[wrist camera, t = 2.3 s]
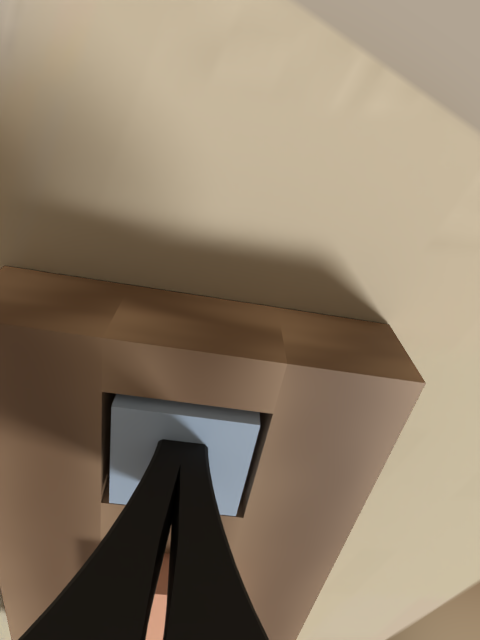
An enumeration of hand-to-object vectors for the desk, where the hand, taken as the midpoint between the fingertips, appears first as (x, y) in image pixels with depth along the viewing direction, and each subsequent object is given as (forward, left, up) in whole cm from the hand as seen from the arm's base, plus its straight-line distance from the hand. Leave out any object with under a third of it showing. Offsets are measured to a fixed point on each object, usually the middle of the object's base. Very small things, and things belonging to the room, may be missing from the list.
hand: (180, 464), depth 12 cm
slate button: (0, 0, -2) cm, 2 cm away
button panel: (0, -7, -3) cm, 8 cm away
